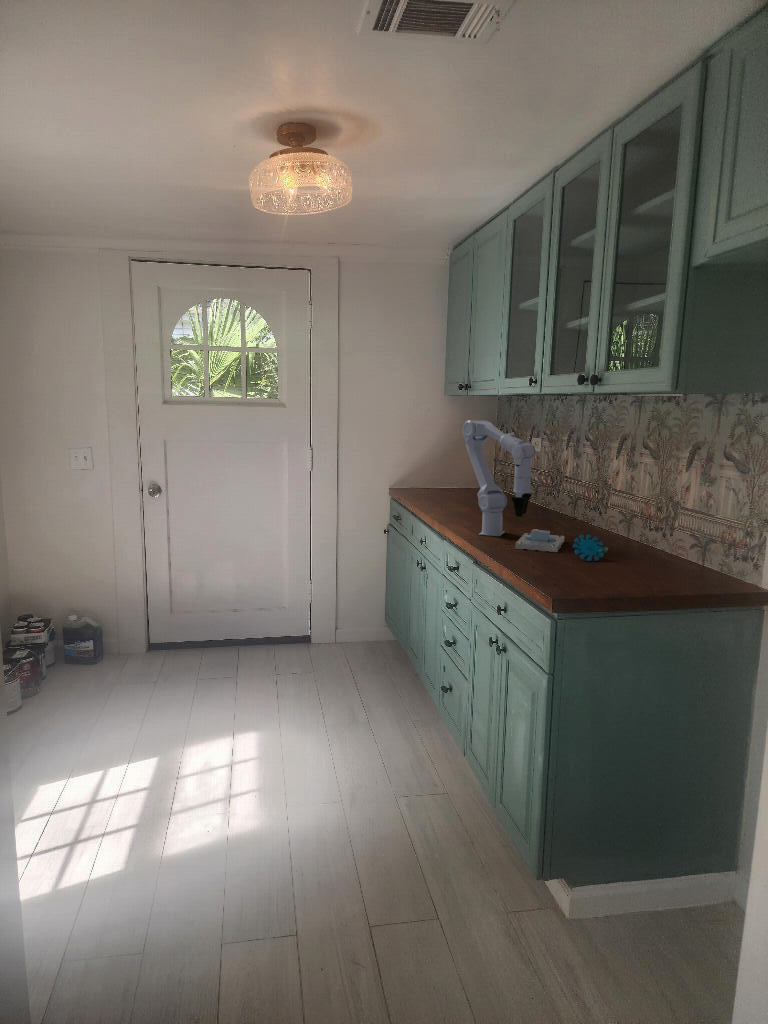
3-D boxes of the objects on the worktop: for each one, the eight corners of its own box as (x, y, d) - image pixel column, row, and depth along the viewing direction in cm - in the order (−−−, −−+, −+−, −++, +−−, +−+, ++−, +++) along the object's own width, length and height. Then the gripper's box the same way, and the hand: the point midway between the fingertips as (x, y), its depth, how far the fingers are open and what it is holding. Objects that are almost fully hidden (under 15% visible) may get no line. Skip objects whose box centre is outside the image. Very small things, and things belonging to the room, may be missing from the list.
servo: (526, 543, 242) (527, 528, 241) (555, 545, 238) (555, 530, 237) (524, 545, 238) (525, 530, 237) (553, 547, 234) (554, 532, 234)
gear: (574, 556, 213) (573, 530, 219) (568, 566, 218) (568, 540, 223) (609, 562, 212) (608, 536, 218) (603, 572, 217) (602, 546, 223)
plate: (524, 538, 250) (525, 532, 249) (564, 541, 245) (564, 535, 244) (515, 548, 231) (515, 542, 231) (557, 552, 226) (557, 545, 226)
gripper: (530, 479, 234) (528, 518, 236) (536, 475, 247) (535, 512, 249) (510, 478, 236) (508, 517, 238) (517, 474, 250) (515, 511, 252)
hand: (520, 514), depth 244 cm, fingers open, 7 cm apart
